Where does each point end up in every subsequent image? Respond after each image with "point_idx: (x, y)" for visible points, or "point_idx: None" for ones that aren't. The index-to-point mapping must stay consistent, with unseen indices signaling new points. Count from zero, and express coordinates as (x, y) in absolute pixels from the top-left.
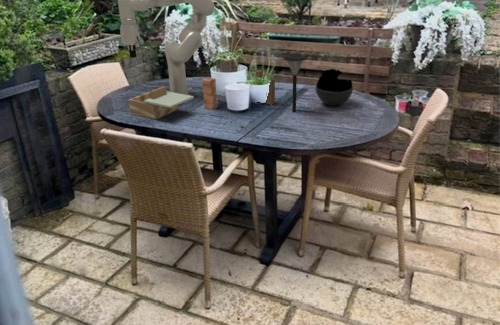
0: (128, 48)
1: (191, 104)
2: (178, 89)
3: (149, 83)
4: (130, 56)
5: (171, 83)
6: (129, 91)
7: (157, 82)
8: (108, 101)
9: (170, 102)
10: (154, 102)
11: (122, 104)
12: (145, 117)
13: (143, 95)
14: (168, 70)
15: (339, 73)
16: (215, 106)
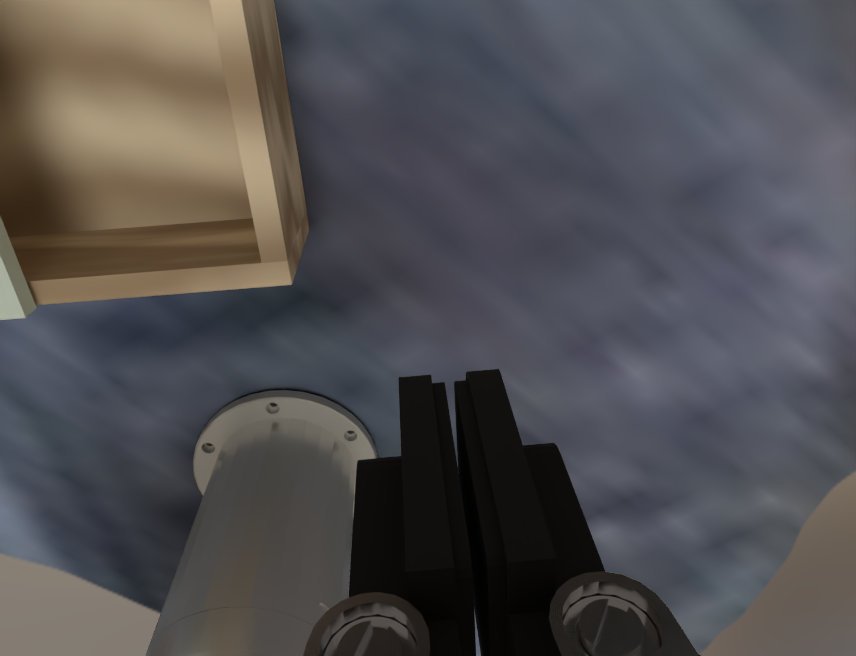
0: (661, 651)
1: (45, 401)
2: (211, 487)
3: (769, 546)
4: (478, 387)
5: (265, 508)
6: (801, 347)
7: (724, 585)
8: (811, 25)
9: None
10: None
11: (595, 44)
12: None
13: (232, 104)
14: (293, 632)
15: None
16: None
